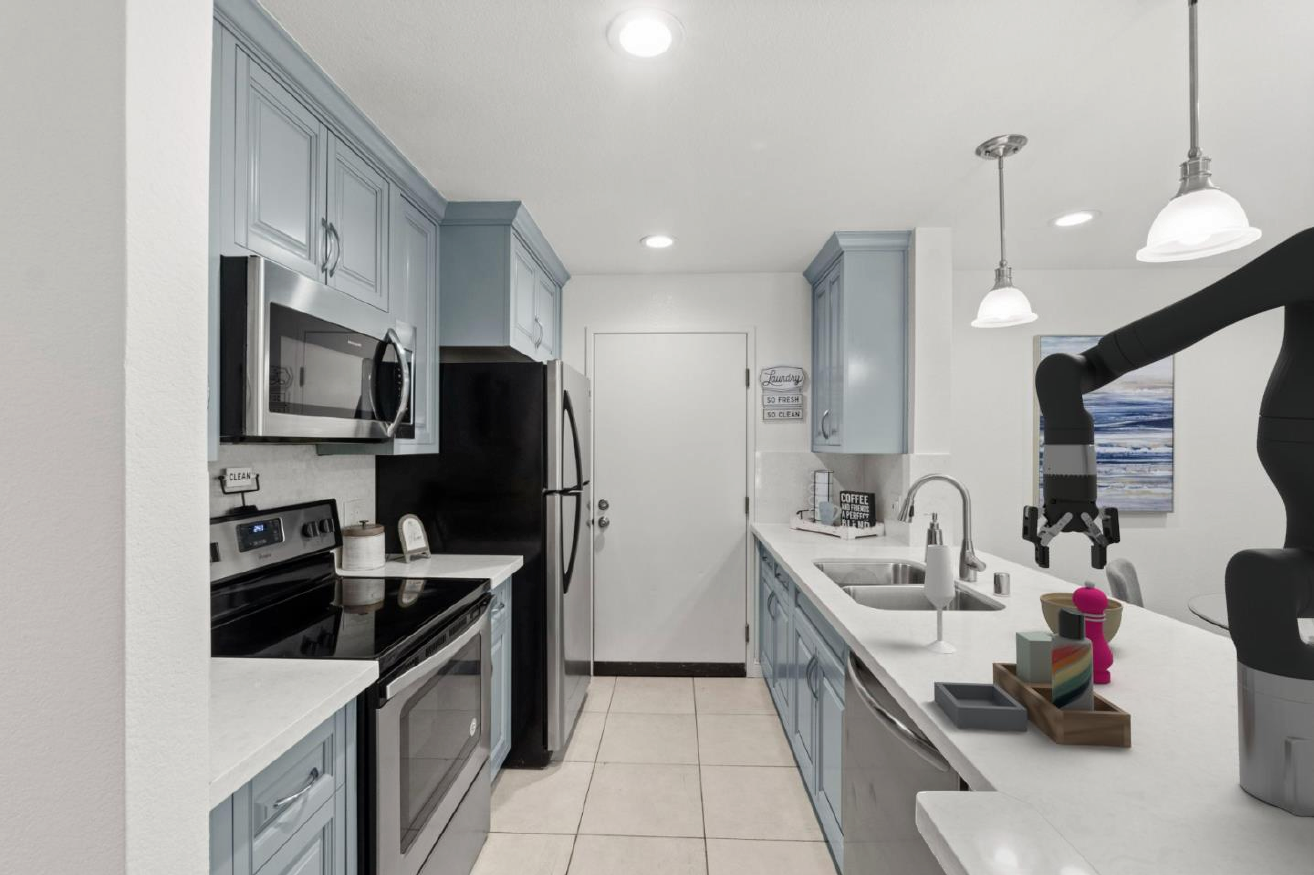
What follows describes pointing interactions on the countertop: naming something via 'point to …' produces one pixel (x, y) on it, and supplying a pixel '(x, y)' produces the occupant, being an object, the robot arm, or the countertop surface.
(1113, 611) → the planter bowl
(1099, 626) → the pepper mill
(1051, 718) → the frame
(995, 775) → the countertop surface
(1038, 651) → the grey-green block
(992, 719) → the tray
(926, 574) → the champagne flute
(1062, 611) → the lotion bottle
